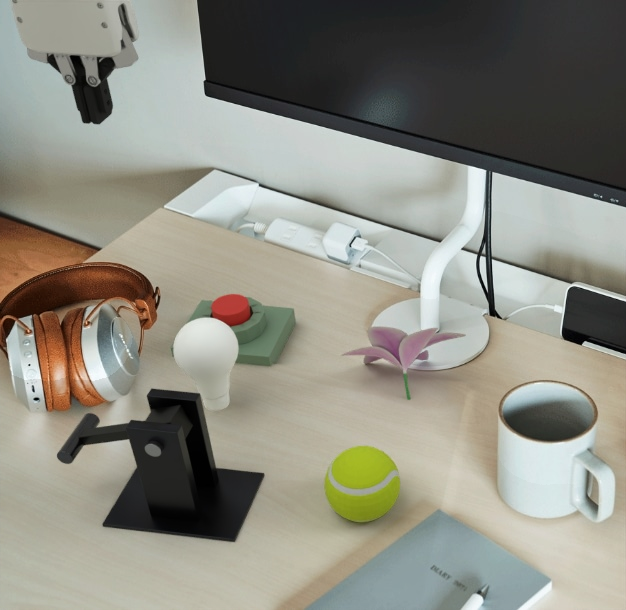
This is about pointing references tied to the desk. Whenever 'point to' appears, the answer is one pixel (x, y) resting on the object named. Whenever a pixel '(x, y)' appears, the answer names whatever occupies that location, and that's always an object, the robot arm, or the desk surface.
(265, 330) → the button box
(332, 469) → the tennis ball
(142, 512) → the switch bracket
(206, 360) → the lightbulb
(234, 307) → the button
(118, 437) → the switch lever
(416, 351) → the lily
